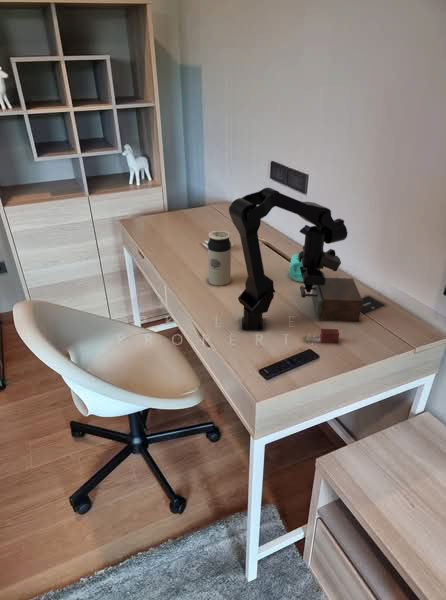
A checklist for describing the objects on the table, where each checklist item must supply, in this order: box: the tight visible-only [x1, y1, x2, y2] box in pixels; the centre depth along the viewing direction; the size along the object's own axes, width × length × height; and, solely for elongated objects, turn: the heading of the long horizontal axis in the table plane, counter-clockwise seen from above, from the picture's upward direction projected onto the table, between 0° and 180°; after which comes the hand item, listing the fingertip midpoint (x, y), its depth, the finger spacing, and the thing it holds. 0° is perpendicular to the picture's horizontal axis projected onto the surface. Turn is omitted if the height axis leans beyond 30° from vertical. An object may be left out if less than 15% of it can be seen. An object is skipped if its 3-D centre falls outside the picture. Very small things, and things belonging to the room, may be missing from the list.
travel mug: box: [207, 230, 232, 287], centre depth 151 cm, size 8×8×18 cm
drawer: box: [299, 285, 323, 318], centre depth 137 cm, size 15×13×6 cm
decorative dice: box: [288, 252, 304, 283], centre depth 156 cm, size 8×8×8 cm
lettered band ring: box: [202, 240, 235, 249], centre depth 179 cm, size 18×10×6 cm, turn 27°
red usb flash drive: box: [305, 328, 340, 344], centre depth 123 cm, size 9×2×3 cm, turn 87°
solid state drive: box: [360, 295, 385, 315], centre depth 141 cm, size 7×10×1 cm
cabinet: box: [319, 277, 363, 323], centre depth 137 cm, size 12×15×8 cm
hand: (308, 291), depth 136 cm, fingers closed
